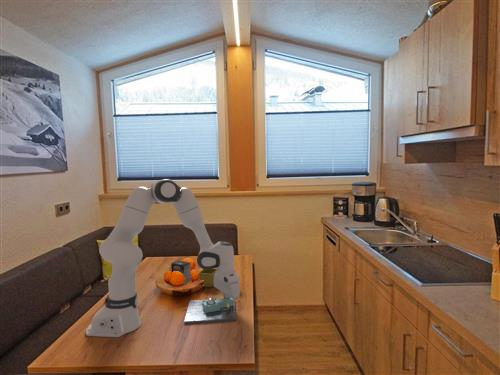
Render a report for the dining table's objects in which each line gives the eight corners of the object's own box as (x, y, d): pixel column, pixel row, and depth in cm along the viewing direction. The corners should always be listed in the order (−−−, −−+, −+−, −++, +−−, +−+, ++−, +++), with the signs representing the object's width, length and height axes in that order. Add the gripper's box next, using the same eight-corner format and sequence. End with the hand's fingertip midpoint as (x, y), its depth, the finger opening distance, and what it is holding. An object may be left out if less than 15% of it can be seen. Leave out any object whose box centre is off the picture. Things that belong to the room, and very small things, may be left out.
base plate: (184, 323, 145) (183, 310, 145) (189, 302, 167) (189, 291, 167) (235, 321, 147) (235, 307, 146) (234, 300, 169) (234, 288, 168)
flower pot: (212, 289, 184) (211, 273, 183) (198, 287, 187) (198, 272, 186) (218, 283, 192) (218, 268, 192) (205, 282, 195) (205, 267, 194)
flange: (205, 312, 152) (205, 306, 152) (202, 306, 159) (202, 300, 159) (235, 307, 157) (234, 301, 157) (230, 301, 164) (230, 295, 164)
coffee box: (171, 291, 183) (170, 263, 182) (179, 287, 189) (178, 259, 187) (184, 293, 179) (183, 265, 177) (191, 289, 184) (190, 261, 183)
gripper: (210, 269, 168) (211, 295, 169) (230, 281, 151) (231, 310, 152) (220, 267, 172) (221, 292, 173) (241, 278, 155) (242, 306, 156)
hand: (226, 300), depth 162 cm, fingers closed
